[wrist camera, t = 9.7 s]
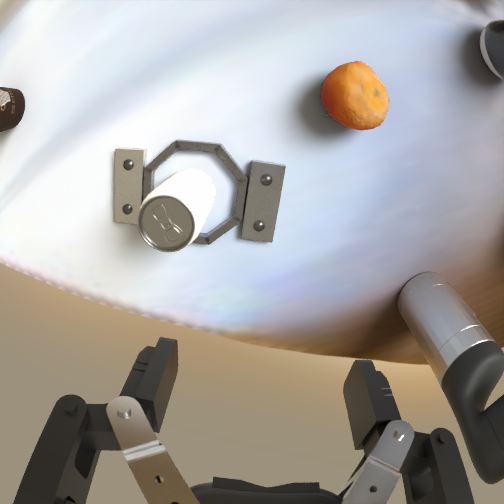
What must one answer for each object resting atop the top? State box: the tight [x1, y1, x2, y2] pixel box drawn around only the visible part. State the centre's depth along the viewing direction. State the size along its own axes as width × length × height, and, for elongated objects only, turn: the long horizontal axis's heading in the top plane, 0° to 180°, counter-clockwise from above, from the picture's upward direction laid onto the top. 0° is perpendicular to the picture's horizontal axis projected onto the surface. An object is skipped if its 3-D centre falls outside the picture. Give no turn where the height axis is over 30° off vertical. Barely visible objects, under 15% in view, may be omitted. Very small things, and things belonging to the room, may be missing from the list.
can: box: [138, 169, 216, 252], centre depth 33 cm, size 6×6×12 cm
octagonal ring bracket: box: [114, 140, 286, 245], centre depth 38 cm, size 22×13×1 cm, turn 82°
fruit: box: [321, 61, 389, 130], centre depth 30 cm, size 8×8×8 cm
